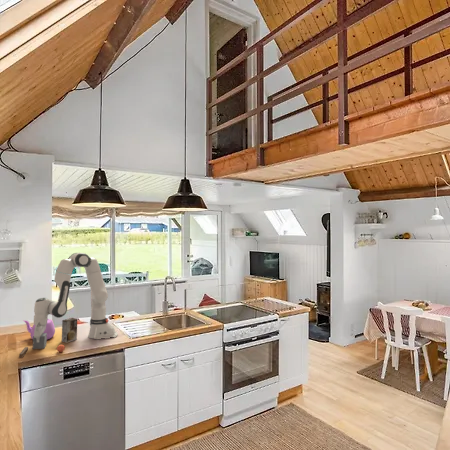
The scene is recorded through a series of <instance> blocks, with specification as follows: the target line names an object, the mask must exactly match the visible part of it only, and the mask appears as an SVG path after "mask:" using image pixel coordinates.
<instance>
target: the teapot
mask: <svg viewBox="0 0 450 450" xmlns="http://www.w3.org/2000/svg"><path fill="white" fill-rule="evenodd" d="M22 321H23V322H24V323H25V326H26V331H28V333H29V334H30V339H32V340H33V336H34V330H35V327H36V326H35V325H34V324H33V325H32V326H31V325H30V322H29V321H28V320H24V319H23V320H22ZM43 333H47V340H49V339H51V338H53V337H54V335H55V333H56V328H55V324H54V321H53V319H50V318H48V320H47V324H46V329H45V331H44V332H43Z"/></svg>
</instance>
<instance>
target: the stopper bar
mask: <svg viewBox="0 0 450 450" xmlns="http://www.w3.org/2000/svg"><path fill="white" fill-rule="evenodd" d="M28 351H29V346H24V348H23V349H22V350H21V352H20V353H19V354H18V359H23V358H24V357H25V355H26V354H27V353H28Z"/></svg>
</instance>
